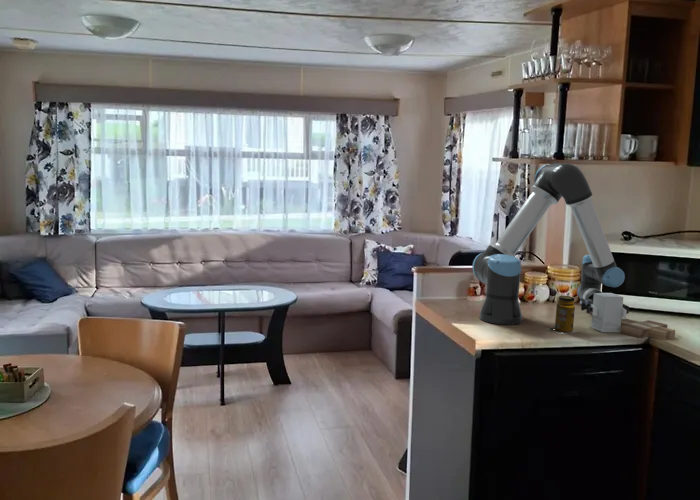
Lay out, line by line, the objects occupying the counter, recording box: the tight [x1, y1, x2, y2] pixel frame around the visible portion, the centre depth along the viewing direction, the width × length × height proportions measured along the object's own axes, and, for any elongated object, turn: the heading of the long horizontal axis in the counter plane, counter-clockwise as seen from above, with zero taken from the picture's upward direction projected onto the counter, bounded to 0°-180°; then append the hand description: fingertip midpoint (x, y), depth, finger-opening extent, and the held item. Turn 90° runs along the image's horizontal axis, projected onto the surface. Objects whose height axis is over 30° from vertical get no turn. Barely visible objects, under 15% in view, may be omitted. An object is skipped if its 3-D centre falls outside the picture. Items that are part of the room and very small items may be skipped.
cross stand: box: [620, 318, 676, 341], centre depth 227 cm, size 18×18×3 cm
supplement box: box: [590, 292, 624, 333], centre depth 228 cm, size 7×7×13 cm
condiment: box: [546, 295, 579, 335], centre depth 224 cm, size 7×8×12 cm
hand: (610, 313), depth 224 cm, fingers closed on supplement box, 9 cm apart
